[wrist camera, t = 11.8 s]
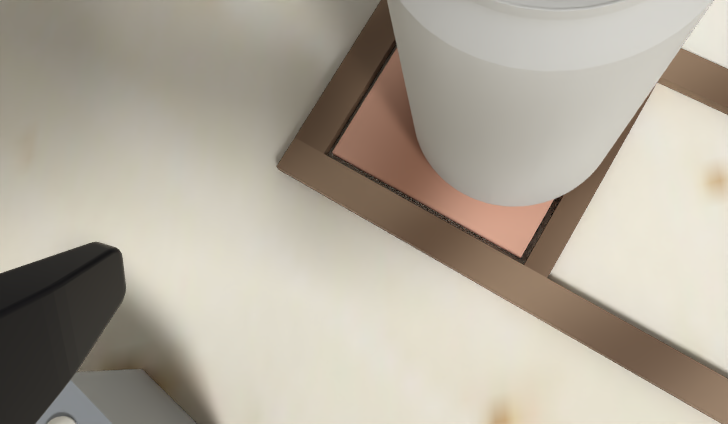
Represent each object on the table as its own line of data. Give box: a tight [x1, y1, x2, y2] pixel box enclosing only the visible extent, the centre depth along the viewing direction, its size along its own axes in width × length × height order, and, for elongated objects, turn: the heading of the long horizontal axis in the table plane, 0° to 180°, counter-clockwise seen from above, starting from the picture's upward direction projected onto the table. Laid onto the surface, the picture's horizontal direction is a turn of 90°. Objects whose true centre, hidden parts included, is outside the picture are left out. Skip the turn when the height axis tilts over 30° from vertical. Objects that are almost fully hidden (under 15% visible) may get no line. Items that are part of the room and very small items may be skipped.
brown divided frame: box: [277, 0, 728, 424], centre depth 20 cm, size 27×10×1 cm, turn 59°
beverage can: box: [387, 0, 714, 207], centre depth 16 cm, size 6×6×12 cm
